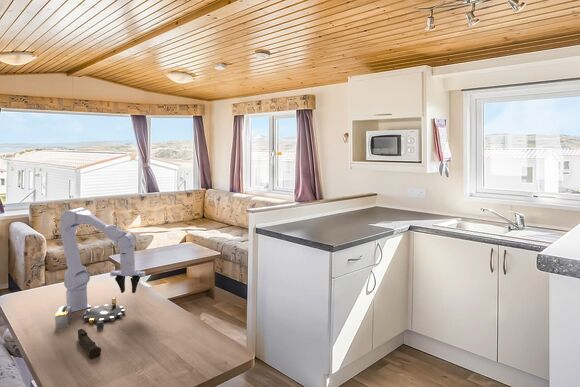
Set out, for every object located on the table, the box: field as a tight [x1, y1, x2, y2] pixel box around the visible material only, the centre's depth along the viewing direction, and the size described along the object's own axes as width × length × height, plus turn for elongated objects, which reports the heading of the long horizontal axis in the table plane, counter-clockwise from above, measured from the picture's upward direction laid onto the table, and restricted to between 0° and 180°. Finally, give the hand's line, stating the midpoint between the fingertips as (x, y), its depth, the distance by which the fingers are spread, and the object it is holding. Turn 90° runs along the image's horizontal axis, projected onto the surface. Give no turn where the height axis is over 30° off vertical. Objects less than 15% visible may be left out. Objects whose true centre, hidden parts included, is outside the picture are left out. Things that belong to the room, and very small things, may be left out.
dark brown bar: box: [77, 328, 102, 360], centre depth 145 cm, size 19×4×5 cm, turn 40°
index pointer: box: [96, 320, 105, 330], centre depth 161 cm, size 3×2×2 cm, turn 18°
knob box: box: [54, 305, 73, 329], centre depth 165 cm, size 10×4×5 cm, turn 19°
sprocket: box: [82, 297, 126, 324], centre depth 172 cm, size 16×16×5 cm
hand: (128, 292), depth 176 cm, fingers open, 4 cm apart
